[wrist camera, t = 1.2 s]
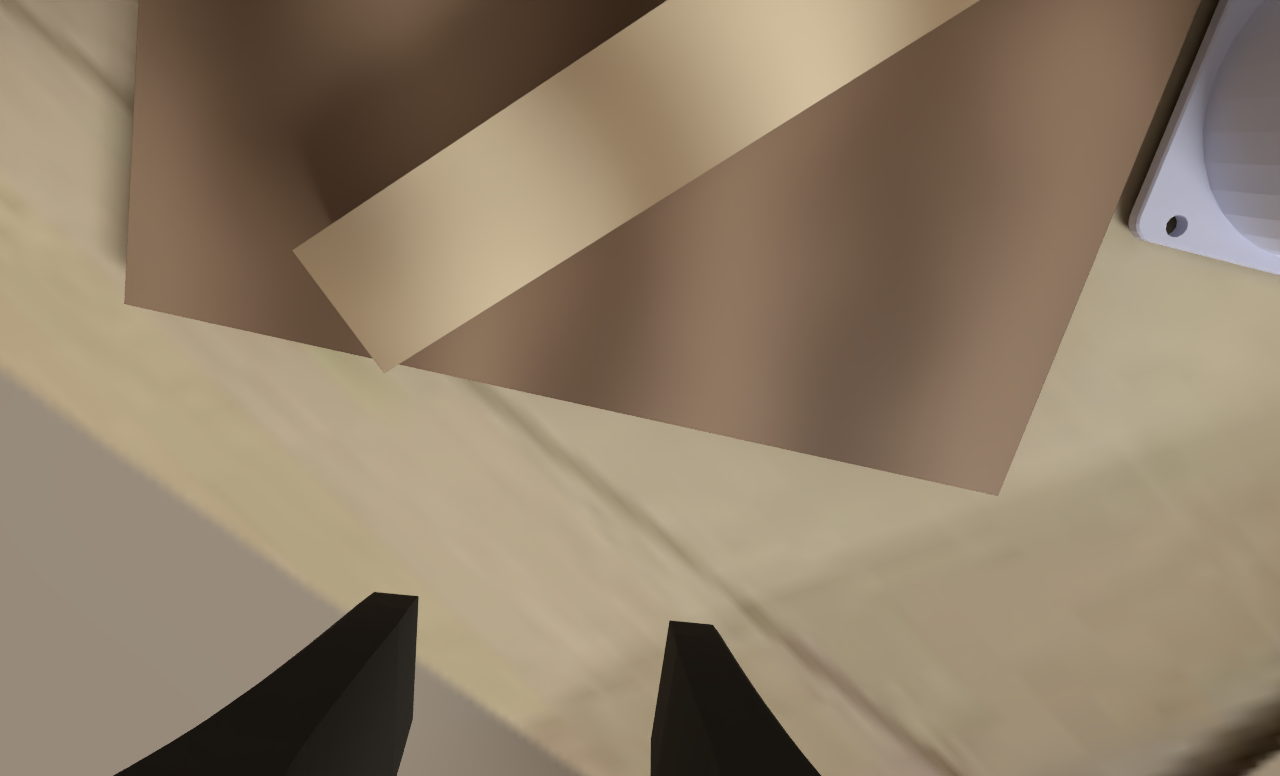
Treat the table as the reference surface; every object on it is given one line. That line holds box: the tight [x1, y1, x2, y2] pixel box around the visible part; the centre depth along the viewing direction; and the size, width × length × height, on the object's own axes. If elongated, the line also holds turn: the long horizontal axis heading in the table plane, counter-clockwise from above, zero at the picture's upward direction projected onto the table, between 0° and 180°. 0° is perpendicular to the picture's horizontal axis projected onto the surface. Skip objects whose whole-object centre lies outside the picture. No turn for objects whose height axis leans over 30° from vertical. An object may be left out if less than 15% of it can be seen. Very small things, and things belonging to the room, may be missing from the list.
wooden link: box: [292, 0, 979, 373], centre depth 15 cm, size 18×4×5 cm, turn 121°
